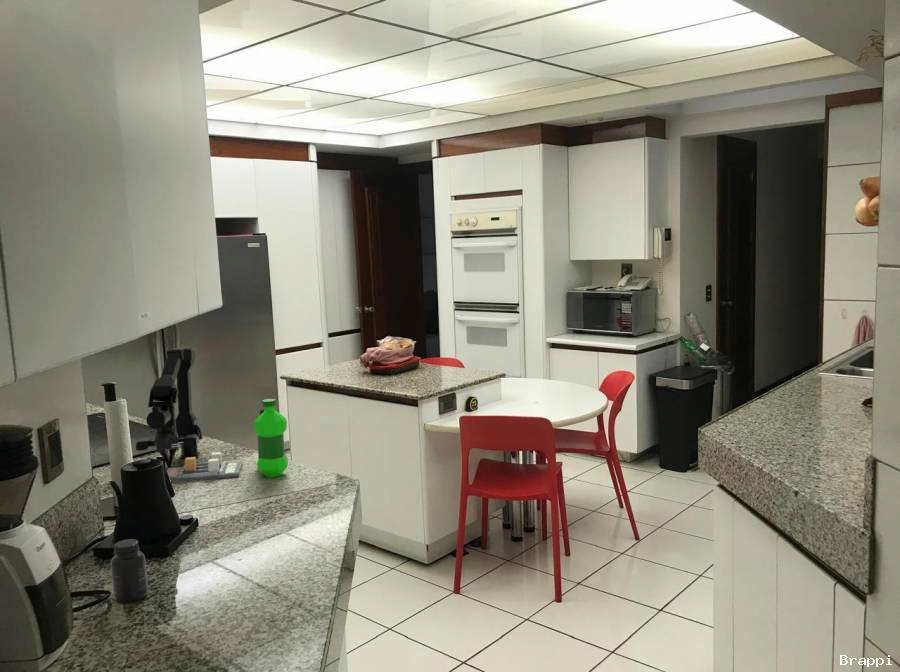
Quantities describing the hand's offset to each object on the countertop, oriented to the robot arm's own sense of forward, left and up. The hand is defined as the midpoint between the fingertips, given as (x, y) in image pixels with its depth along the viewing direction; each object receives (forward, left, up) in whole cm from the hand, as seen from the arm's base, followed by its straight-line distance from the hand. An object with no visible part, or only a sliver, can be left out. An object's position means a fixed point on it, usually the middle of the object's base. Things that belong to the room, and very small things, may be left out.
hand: (169, 467), depth 238 cm
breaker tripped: (0, +7, -2) cm, 7 cm away
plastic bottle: (+7, +34, -3) cm, 34 cm away
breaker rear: (-4, +15, -2) cm, 15 cm away
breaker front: (+4, +15, -2) cm, 15 cm away
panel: (0, +11, -3) cm, 11 cm away
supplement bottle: (+87, +8, -3) cm, 87 cm away
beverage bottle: (-3, +32, -3) cm, 32 cm away
